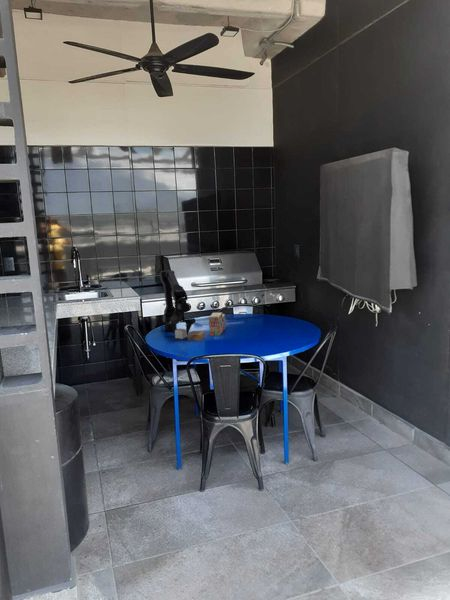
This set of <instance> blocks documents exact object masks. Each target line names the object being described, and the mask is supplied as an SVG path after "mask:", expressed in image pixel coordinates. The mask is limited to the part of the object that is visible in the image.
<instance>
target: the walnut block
mask: <svg viewBox="0 0 450 600" xmlns="http://www.w3.org/2000/svg"><path fill="white" fill-rule="evenodd" d="M205 338H206V331H199V330H192V331H191V332H189V333H188V335H187V340H188V341H194V342H195V341H196V342H202V341H203V340H204V339H205Z"/></svg>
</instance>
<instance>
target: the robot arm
mask: <svg viewBox="0 0 450 600" xmlns="http://www.w3.org/2000/svg"><path fill="white" fill-rule="evenodd" d="M158 277H159V279H160V282H161V283H162V285H163V293H164V300H165V308H164V311H163V315H162V322H163V323H164V330H163V331H164V332H172V333H173V334H175V330H177V329H178V328H177V324H179V323H185V327H186V328H185V329H186V336H188V334H189V333H190V330H191V327H192V326H193V325H194V324H195V323H196V319H195V317H188V318H186V316H185V313H188V311H190V308H191V307H190V304H189V303H187V301H189V300H188V298H189V296H188V295H187V292H186V290H185V289H184V287H183V286H182V285H180V283H179V282H178V279H177V277H176V274H175V271H174V270H170V269H167V270H161V271H159V273H158Z"/></svg>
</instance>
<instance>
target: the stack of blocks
mask: <svg viewBox="0 0 450 600" xmlns="http://www.w3.org/2000/svg"><path fill="white" fill-rule="evenodd" d="M208 319H209V320H208V321H209V325H208V326H209V327H208V328H209V336H212V337H213V336H215V337H216V336H217V337H219V336H220V335H221V334H222V333H223V332H224V330H225V329H226V328H227V327H226V326H227V325H226V313H223V312H212V313H211V315H210V316H208Z"/></svg>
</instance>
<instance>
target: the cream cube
mask: <svg viewBox="0 0 450 600" xmlns="http://www.w3.org/2000/svg"><path fill="white" fill-rule="evenodd" d="M176 329H177V330H175V333H174V336H175V339H181V340H183V339H185V338H187V334H186V328H176Z"/></svg>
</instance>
